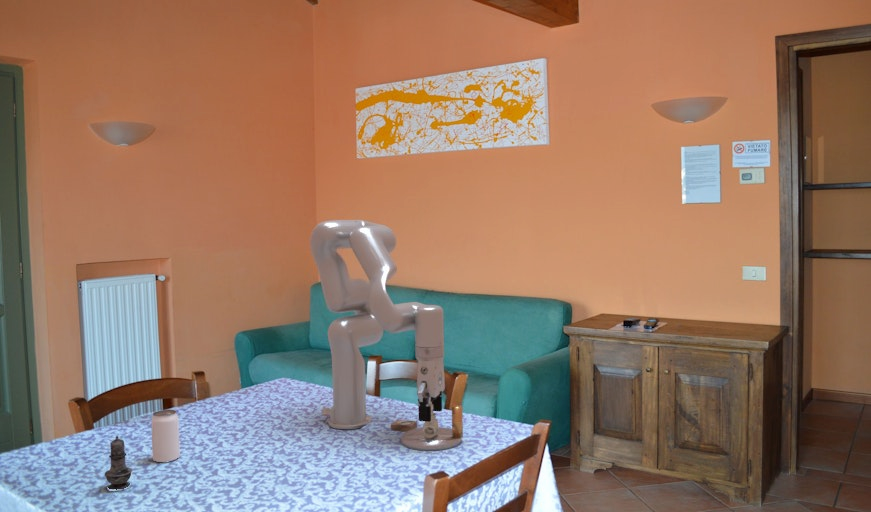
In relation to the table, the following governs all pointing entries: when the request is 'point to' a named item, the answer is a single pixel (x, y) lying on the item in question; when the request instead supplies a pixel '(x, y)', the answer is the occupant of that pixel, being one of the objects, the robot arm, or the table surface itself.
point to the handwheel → (442, 438)
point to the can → (165, 436)
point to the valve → (431, 422)
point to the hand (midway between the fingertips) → (430, 415)
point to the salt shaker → (118, 466)
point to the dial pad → (403, 425)
